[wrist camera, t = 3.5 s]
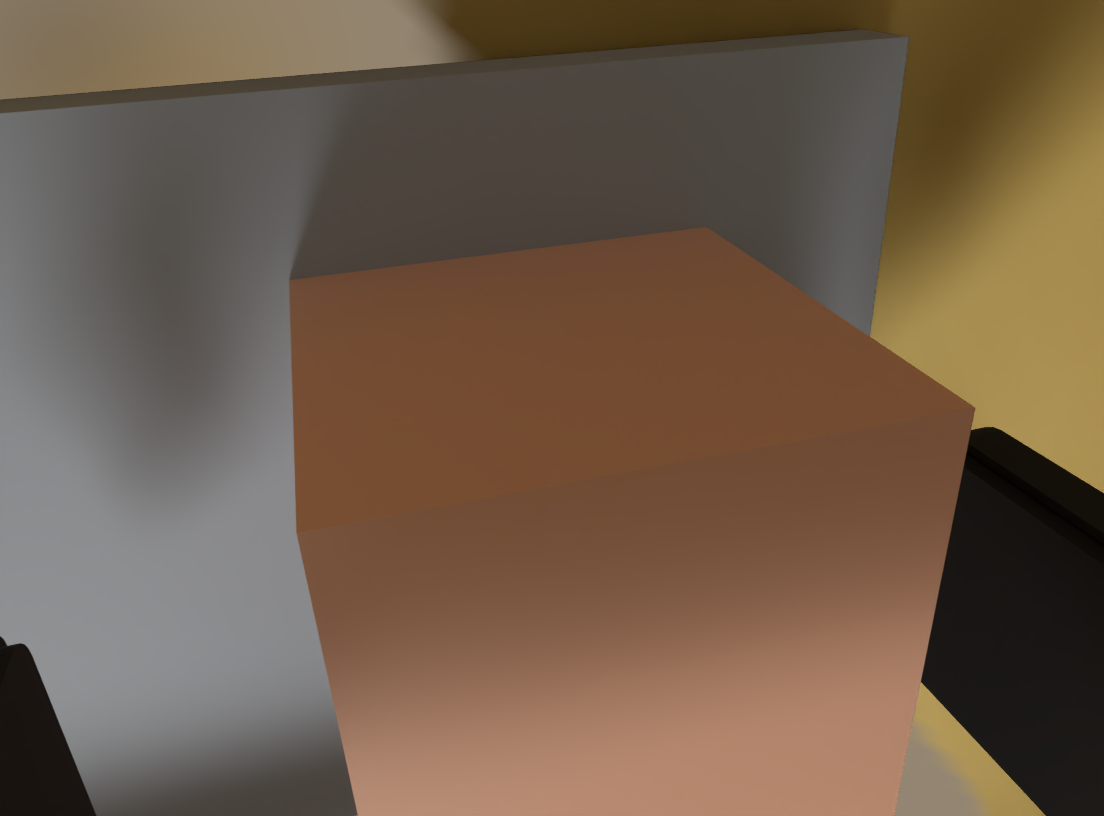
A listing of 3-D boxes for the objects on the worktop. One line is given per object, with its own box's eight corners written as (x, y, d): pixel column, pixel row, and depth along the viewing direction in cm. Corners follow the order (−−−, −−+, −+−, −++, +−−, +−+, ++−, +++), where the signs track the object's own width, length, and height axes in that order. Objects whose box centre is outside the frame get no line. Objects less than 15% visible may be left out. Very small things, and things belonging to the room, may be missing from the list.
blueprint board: (861, 29, 12) (919, 38, 11) (758, 985, 21) (783, 1037, 20) (-577, 145, 8) (-696, 175, 7) (79, 1202, 18) (67, 1277, 17)
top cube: (705, 227, 11) (975, 408, 7) (694, 554, 13) (889, 841, 9) (288, 280, 10) (297, 533, 6) (354, 625, 12) (394, 987, 8)
